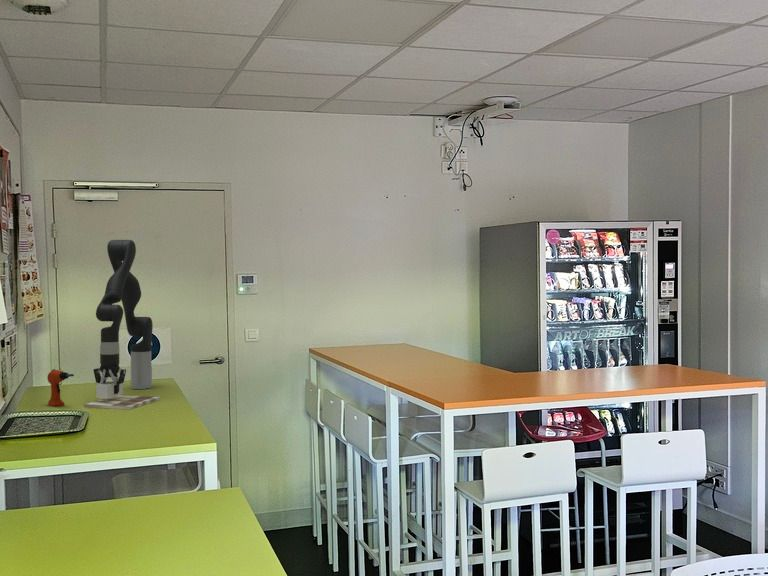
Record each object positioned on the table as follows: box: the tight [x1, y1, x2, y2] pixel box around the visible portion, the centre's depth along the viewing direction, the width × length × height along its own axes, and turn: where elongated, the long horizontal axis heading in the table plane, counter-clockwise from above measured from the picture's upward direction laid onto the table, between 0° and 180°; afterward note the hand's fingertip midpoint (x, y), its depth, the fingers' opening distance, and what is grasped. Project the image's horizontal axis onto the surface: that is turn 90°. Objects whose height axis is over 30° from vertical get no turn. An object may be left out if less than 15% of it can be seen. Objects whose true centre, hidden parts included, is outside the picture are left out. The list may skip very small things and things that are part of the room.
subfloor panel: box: [83, 394, 160, 411], centre depth 319 cm, size 24×20×1 cm
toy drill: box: [47, 368, 75, 408], centre depth 311 cm, size 5×19×15 cm, turn 51°
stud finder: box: [95, 380, 124, 399], centre depth 320 cm, size 12×5×6 cm, turn 168°
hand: (109, 393), depth 320 cm, fingers closed on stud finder, 5 cm apart
